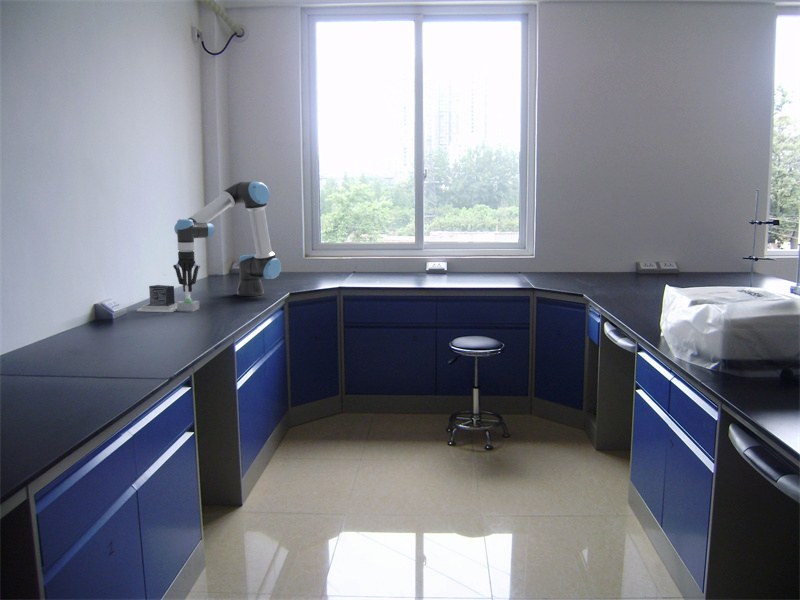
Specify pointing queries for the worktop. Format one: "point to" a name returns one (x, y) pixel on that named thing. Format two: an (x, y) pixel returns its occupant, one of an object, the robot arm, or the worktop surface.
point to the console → (188, 306)
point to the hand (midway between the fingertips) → (187, 298)
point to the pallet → (159, 308)
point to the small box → (161, 295)
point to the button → (188, 300)
